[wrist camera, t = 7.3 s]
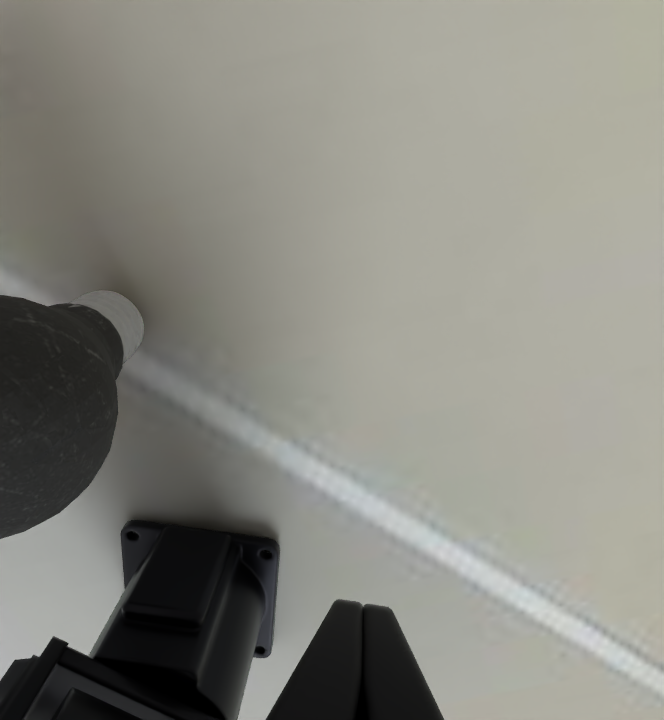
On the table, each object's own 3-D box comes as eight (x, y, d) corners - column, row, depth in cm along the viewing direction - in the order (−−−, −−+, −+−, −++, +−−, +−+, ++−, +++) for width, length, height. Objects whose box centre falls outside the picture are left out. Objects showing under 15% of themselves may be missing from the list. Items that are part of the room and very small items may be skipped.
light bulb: (31, 228, 19) (-314, 336, 9) (197, 244, 18) (8, 372, 9) (52, 379, 21) (-210, 585, 12) (200, 396, 20) (50, 620, 11)
